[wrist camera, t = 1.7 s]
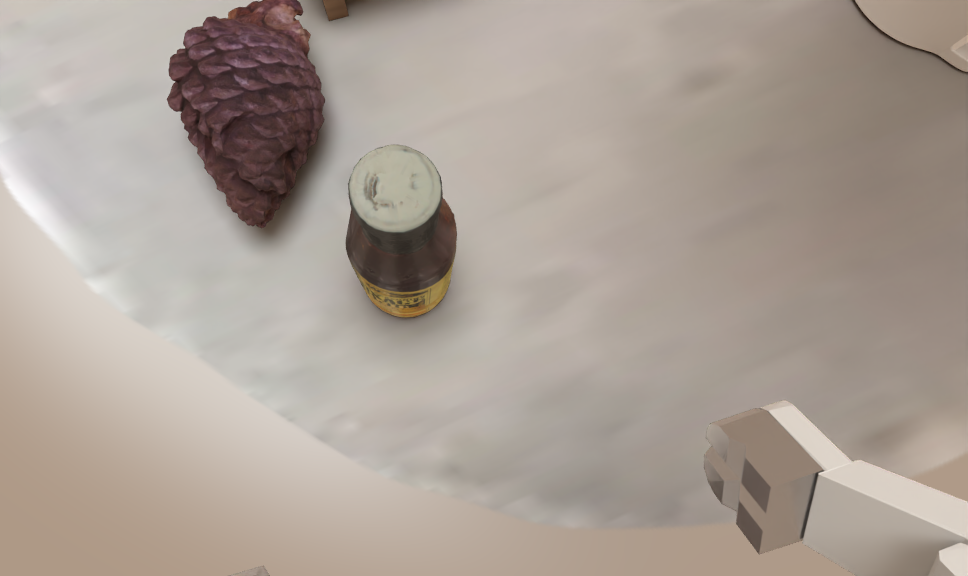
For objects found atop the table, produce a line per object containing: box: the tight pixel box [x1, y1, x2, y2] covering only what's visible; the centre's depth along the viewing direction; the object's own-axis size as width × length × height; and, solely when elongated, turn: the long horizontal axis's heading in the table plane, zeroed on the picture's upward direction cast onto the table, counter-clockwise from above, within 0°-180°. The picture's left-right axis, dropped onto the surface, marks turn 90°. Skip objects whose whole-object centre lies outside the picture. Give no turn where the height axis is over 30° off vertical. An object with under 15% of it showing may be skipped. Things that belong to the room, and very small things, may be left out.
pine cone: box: [167, 0, 325, 228], centre depth 42 cm, size 18×10×10 cm, turn 2°
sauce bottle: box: [346, 145, 457, 317], centre depth 36 cm, size 7×6×20 cm
